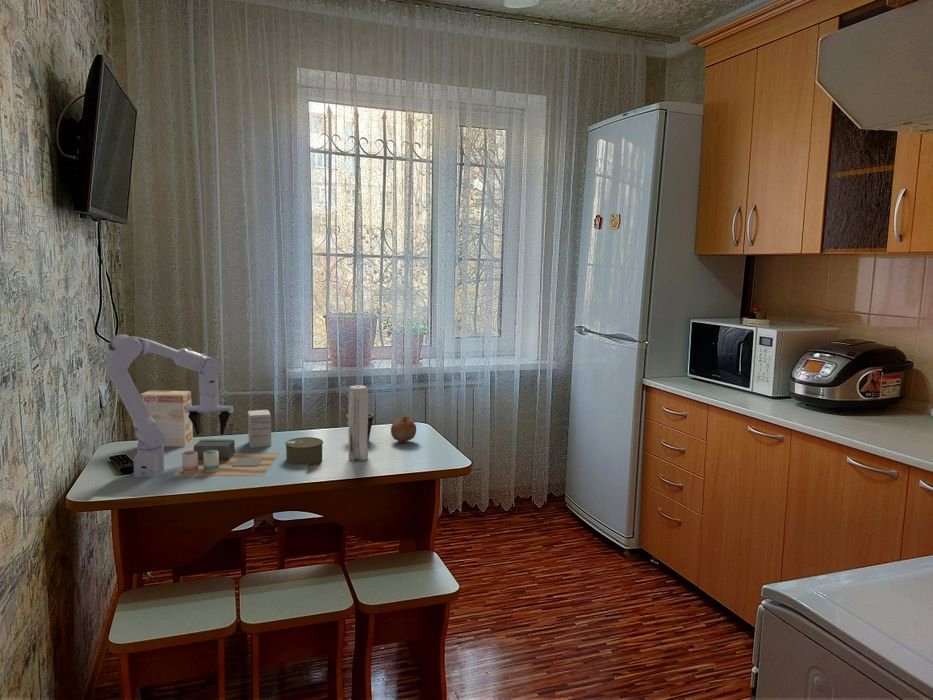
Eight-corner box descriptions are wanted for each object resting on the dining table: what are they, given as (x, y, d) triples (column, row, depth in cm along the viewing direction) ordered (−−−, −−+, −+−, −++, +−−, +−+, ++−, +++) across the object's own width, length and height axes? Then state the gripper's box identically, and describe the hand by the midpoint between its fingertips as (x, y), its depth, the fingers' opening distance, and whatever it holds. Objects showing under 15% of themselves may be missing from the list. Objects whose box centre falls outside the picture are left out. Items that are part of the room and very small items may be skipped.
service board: (263, 478, 197) (263, 475, 196) (175, 479, 194) (175, 476, 194) (279, 455, 219) (279, 453, 219) (200, 456, 217) (200, 453, 217)
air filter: (371, 457, 220) (371, 386, 216) (359, 462, 214) (359, 389, 211) (357, 454, 223) (357, 383, 219) (344, 459, 217) (344, 386, 214)
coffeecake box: (193, 443, 231) (191, 390, 228) (184, 449, 224) (182, 394, 221) (152, 442, 231) (150, 389, 229) (142, 448, 224) (139, 393, 222)
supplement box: (248, 444, 231) (247, 410, 230) (269, 443, 234) (268, 409, 232) (249, 450, 225) (249, 415, 223) (271, 448, 227) (271, 413, 226)
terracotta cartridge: (195, 474, 196) (194, 454, 196) (180, 474, 196) (179, 454, 195) (200, 469, 201) (199, 450, 200) (185, 469, 201) (184, 450, 200)
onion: (418, 445, 235) (418, 418, 234) (392, 446, 233) (393, 420, 231) (413, 438, 244) (413, 412, 243) (388, 439, 242) (389, 413, 240)
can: (319, 468, 208) (319, 447, 207) (282, 467, 208) (281, 447, 207) (325, 456, 220) (325, 437, 219) (290, 456, 219) (290, 436, 218)
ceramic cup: (346, 438, 243) (346, 412, 241) (372, 437, 244) (373, 411, 243) (346, 448, 230) (346, 421, 229) (374, 447, 232) (374, 420, 230)
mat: (257, 466, 205) (257, 465, 205) (231, 466, 204) (231, 465, 204) (263, 458, 213) (263, 457, 213) (238, 458, 212) (238, 457, 212)
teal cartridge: (216, 473, 198) (216, 453, 197) (201, 473, 198) (201, 453, 197) (221, 468, 202) (220, 449, 202) (206, 468, 202) (205, 449, 201)
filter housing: (228, 460, 210) (228, 445, 209) (194, 460, 209) (193, 445, 208) (235, 453, 217) (234, 438, 217) (201, 453, 216) (201, 438, 216)
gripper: (235, 390, 212) (236, 430, 214) (190, 390, 211) (192, 430, 213) (229, 395, 205) (230, 436, 207) (182, 395, 204) (184, 436, 206)
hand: (210, 434), depth 210 cm, fingers open, 7 cm apart
